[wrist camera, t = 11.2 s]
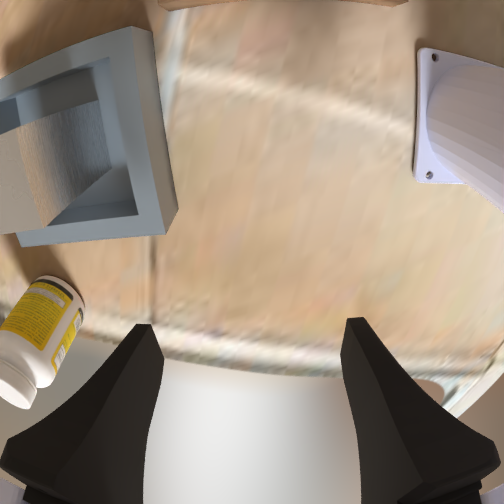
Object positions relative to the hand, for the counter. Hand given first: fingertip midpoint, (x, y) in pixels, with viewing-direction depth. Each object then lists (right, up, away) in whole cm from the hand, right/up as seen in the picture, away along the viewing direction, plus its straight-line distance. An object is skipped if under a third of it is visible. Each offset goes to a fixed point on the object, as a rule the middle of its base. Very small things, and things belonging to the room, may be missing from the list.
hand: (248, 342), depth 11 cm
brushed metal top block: (-10, +10, +4) cm, 14 cm away
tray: (-10, +10, +4) cm, 15 cm away
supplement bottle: (-16, -1, +11) cm, 19 cm away
